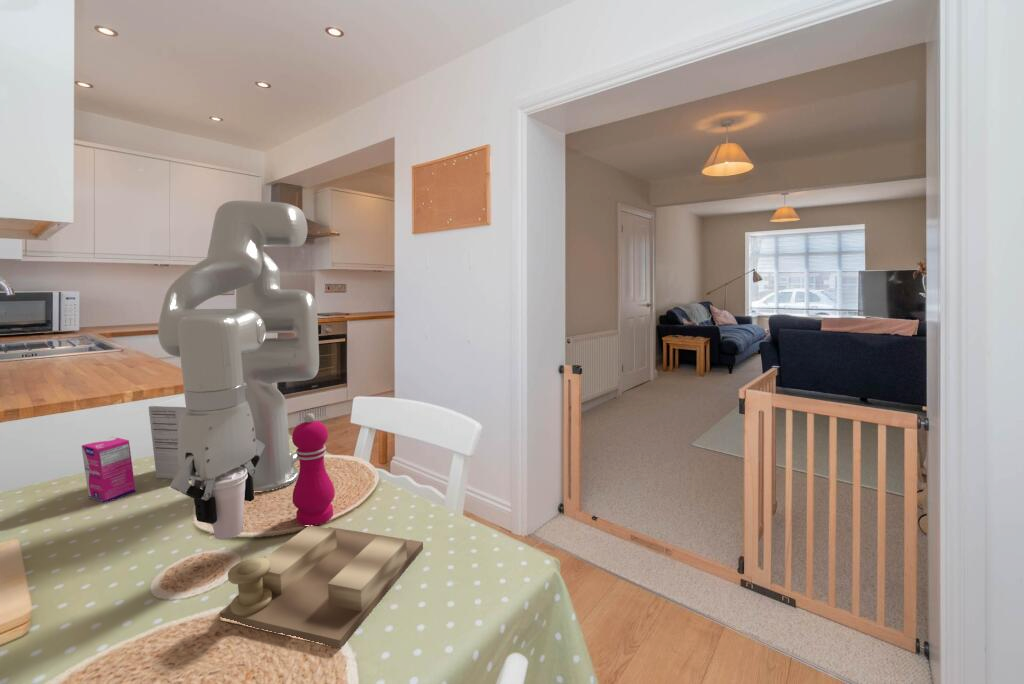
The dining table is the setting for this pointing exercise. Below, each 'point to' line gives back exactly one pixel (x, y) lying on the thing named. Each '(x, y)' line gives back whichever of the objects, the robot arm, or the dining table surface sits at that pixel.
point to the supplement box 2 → (166, 435)
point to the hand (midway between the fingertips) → (226, 509)
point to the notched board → (319, 583)
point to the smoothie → (229, 502)
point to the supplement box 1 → (108, 468)
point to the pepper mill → (312, 474)
